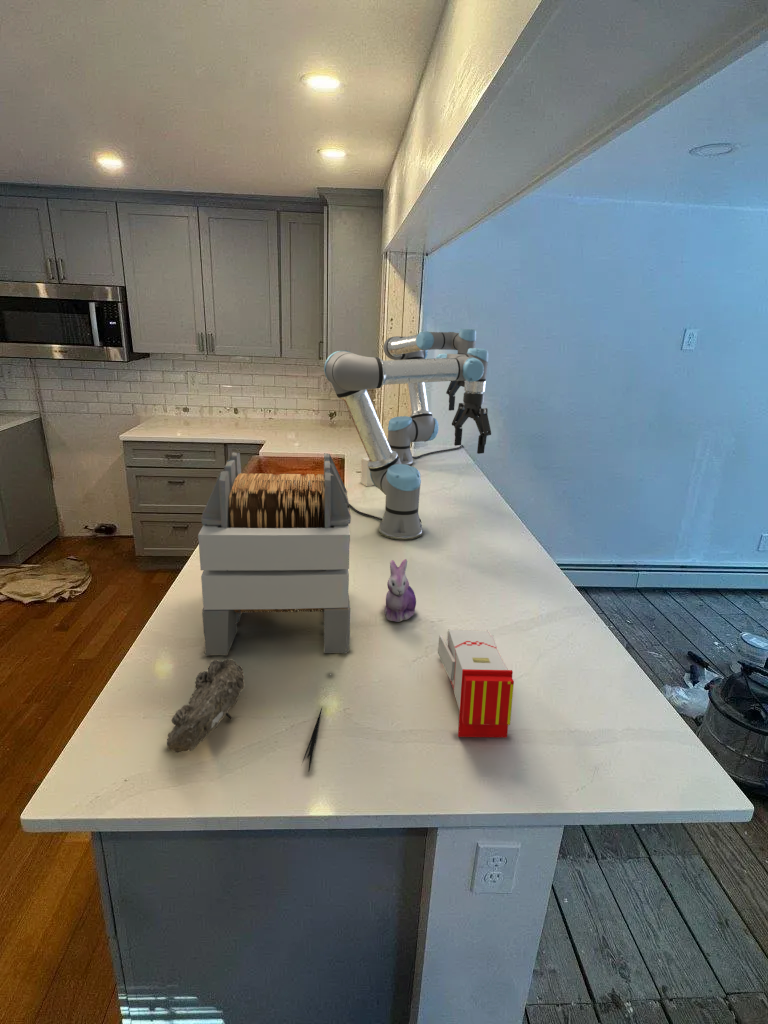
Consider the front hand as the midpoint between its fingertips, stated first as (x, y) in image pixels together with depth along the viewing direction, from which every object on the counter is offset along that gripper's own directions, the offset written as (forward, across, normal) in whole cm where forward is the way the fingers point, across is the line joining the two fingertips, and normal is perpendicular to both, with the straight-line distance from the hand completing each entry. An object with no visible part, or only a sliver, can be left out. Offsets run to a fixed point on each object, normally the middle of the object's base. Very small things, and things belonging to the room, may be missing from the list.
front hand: (468, 449), depth 214 cm
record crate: (+26, -43, +92) cm, 105 cm away
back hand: (-5, +42, -29) cm, 51 cm away
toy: (+26, -88, +68) cm, 115 cm away
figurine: (+26, -55, +64) cm, 88 cm away
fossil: (+26, -71, +117) cm, 139 cm away
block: (+26, +49, +14) cm, 57 cm away
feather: (+26, -81, +100) cm, 131 cm away
